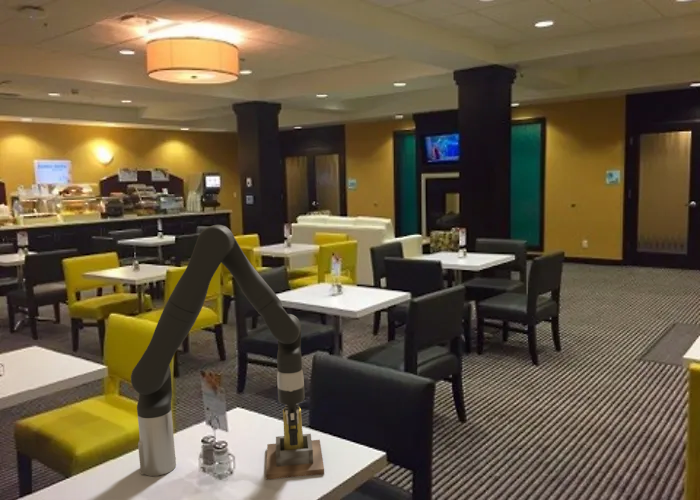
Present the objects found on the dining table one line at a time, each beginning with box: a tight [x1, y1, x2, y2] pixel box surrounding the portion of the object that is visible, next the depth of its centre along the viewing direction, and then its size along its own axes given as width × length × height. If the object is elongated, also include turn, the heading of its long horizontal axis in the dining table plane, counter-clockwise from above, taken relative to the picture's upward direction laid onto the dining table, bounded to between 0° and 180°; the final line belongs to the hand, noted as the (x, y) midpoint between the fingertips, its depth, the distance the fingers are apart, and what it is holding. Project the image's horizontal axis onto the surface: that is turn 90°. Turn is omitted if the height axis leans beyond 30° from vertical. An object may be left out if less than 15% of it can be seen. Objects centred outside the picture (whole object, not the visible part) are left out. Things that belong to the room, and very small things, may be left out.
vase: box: [282, 406, 304, 451], centre depth 170 cm, size 6×6×14 cm
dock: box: [265, 433, 325, 481], centre depth 171 cm, size 16×18×6 cm
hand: (293, 437), depth 170 cm, fingers open, 8 cm apart
